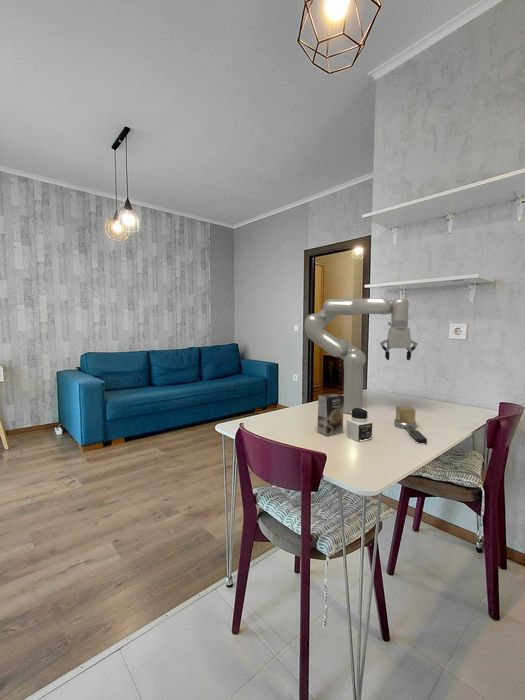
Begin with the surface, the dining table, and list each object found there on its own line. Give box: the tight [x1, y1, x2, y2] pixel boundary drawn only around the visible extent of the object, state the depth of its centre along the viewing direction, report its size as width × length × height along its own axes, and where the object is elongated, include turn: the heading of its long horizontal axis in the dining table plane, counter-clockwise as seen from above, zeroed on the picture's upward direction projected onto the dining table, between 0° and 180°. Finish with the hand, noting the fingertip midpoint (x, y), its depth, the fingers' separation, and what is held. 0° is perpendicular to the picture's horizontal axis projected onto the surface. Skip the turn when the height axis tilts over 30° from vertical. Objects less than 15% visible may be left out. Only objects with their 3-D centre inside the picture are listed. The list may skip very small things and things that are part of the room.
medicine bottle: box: [345, 407, 373, 441], centre depth 133 cm, size 7×7×12 cm
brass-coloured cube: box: [395, 405, 416, 424], centre depth 149 cm, size 6×6×6 cm
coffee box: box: [317, 392, 344, 437], centre depth 139 cm, size 9×6×16 cm
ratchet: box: [393, 418, 428, 443], centre depth 141 cm, size 9×26×6 cm, turn 173°
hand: (397, 359), depth 163 cm, fingers open, 9 cm apart
